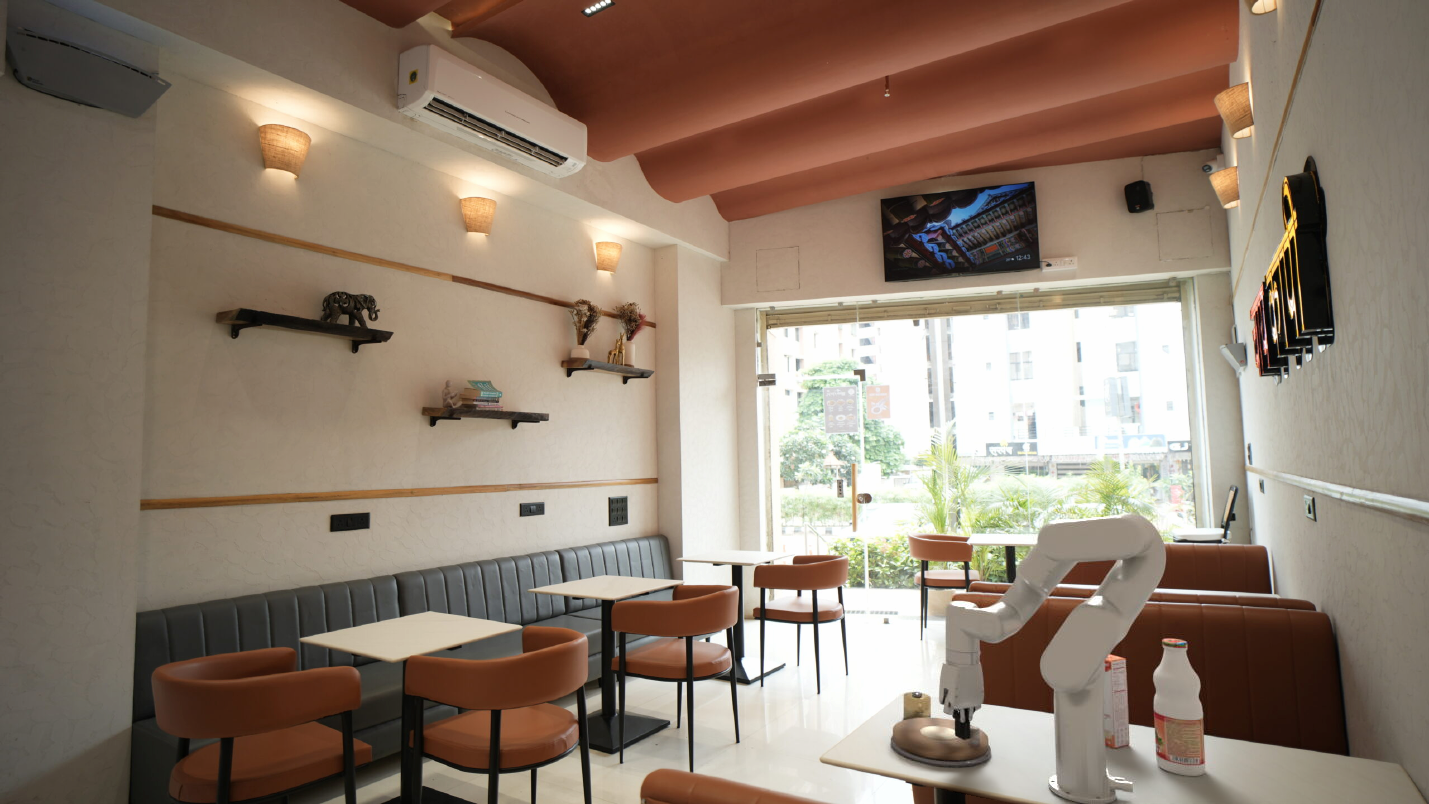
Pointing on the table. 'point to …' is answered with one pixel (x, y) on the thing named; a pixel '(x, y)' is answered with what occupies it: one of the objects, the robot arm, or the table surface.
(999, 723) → the table surface
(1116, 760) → the table surface
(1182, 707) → the fruit juice
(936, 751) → the turntable
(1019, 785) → the table surface
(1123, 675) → the cracker box
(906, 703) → the cover
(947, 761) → the turntable base
